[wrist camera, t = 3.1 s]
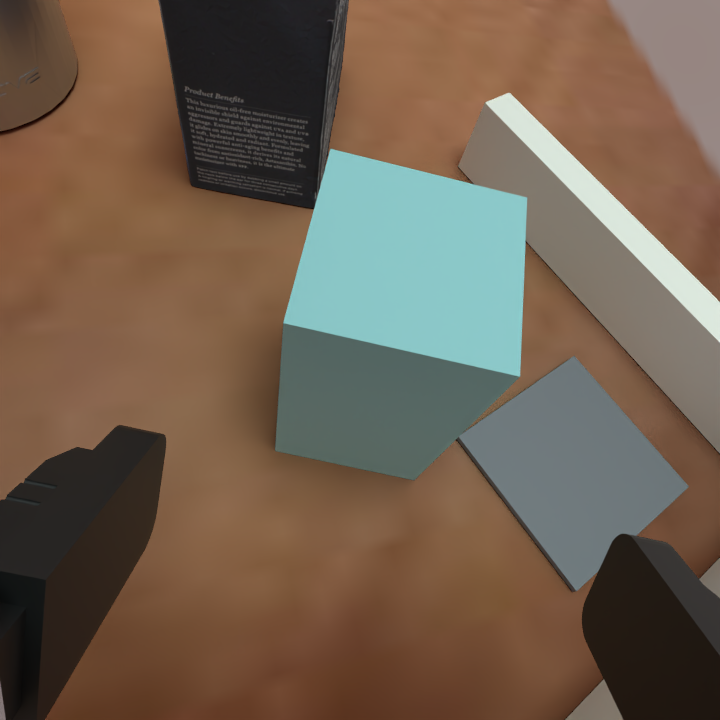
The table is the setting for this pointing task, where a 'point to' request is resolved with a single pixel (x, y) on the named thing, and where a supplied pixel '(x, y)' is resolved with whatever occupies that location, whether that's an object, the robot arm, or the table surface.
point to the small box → (256, 92)
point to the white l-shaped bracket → (572, 381)
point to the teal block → (399, 316)
